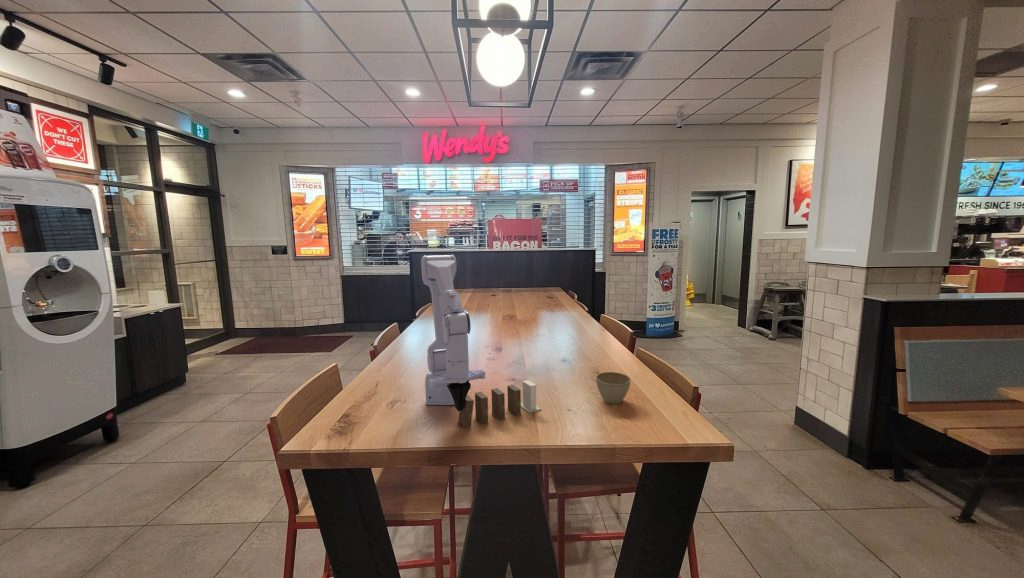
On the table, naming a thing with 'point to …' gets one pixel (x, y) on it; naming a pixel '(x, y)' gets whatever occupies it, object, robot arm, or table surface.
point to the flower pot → (613, 386)
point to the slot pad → (529, 409)
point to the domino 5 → (529, 394)
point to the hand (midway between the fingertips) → (459, 409)
